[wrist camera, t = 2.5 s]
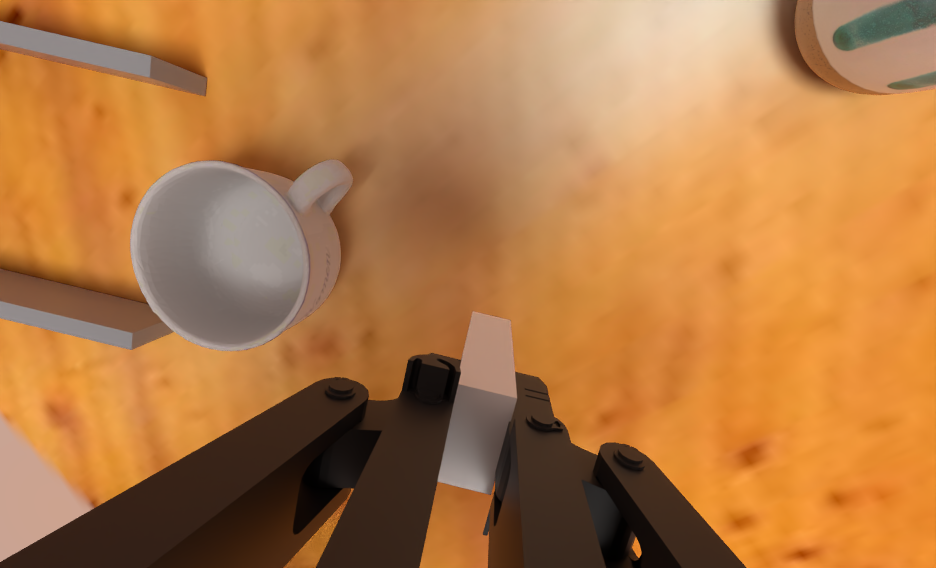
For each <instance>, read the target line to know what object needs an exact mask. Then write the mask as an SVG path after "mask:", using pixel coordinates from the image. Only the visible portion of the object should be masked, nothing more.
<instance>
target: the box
mask: <svg viewBox="0 0 936 568" xmlns="http://www.w3.org/2000/svg"><path fill="white" fill-rule="evenodd" d="M0 49H3V50H7V51H11V52H16V53H20V54H24V55H29V56H33V57H37V58H42V59H46V60H50V61H55V62H59V63H63V64H68V65H72V66H76V67H81V68H85V69H89V70H94V71H98V72H102V73H107V74H111V75H115V76H120V77H124V78H128V79H133V80H137V81H141V82H146V83H150V84H154V85H159V86H163V87H167V88H172V89H176V90H180V91H185V92H189V93H193V94H198V95H202V96H205V94H206V84H207V78H206V77H203V76H201V75H198V74H196V73H193V72H191V71H188V70H186V69H183V68H181V67H178V66H176V65H173V64H171V63H168V62H166V61H163V60H161V59H158V58H156V57H153V56H150V55H146V54H141V53H137V52H133V51H128V50H124V49H120V48H115V47H111V46H107V45H102V44H98V43H94V42H89V41H85V40H80V39H76V38H72V37H67V36H63V35H59V34H54V33H50V32H46V31H41V30H37V29H33V28H28V27H24V26H19V25H15V24H11V23H6V22H2V21H0ZM0 318H2V319H6V320H10V321H14V322H18V323H23V324H27V325H31V326H35V327H39V328H43V329H47V330H51V331H56V332H60V333H64V334H68V335H72V336H76V337H80V338H84V339H89V340H93V341H97V342H101V343H105V344H109V345H113V346H118V347H122V348H126V349H130V350H132V349H135V348H137V347H139V346H142V345H144V344H146V343H149V342H151V341H153V340H156V339H158V338H161V337H163V336H165V335H168V334H170V333H172V332H174V331H172V330H171V329H170V328H169V327H168V326H167V325H166V324H165V323H164V322H163V321H162V320H161V319H160V318H159V317H158V315H157V314H156V313H154V312H153V311H152V309H151V307H150V306H149V304H145V303H141V302H137V301H133V300H129V299H125V298H120V297H116V296H112V295H108V294H104V293H100V292H95V291H91V290H87V289H83V288H79V287H75V286H70V285H66V284H62V283H58V282H54V281H50V280H45V279H41V278H37V277H33V276H29V275H25V274H20V273H16V272H12V271H8V270H4V269H0Z"/></svg>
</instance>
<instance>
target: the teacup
mask: <svg viewBox="0 0 936 568" xmlns="http://www.w3.org/2000/svg"><path fill="white" fill-rule="evenodd" d="M352 183H353V177H352V174H351V172H350V171H349V169H348V168H347V167H346V166H345V165H344V164H343V163H342V162H340V161H338V160H335V159H332V160H326V161H323V162H320V163H318V164H316V165H314V166H313V167H311V168H309V169H308V170H306V171H305V172H304V173H303V174H302V175H300V176H299V177H298V178H297V179H296V180H295V181H292V180H290V179H287V178H285V177H282V176H279V175H276V174H273V173H269V172H265V171H260V170H255V169H250V168H244V167H241V166H239V165H236V164H232V163H228V162H223V161H198V162H192V163H189V164H186V165H183V166H180V167H178V168H175V169H173V170H171V171H169V172H168V173H166V174H165V175H163V176H162V177H161V178H159V179H158V180H157V181H156V182H155V183H154V184H153V185H152V186H151V187H150V188H149V190H148V191H147V192H146V194H145V195H144V197H143V199H142V200H141V202H140V204H139V206H138V209H137V211H136V214H135V217H134V220H133V225H132V229H131V239H130V248H131V259H132V264H133V268H134V273H135V275H136V278H137V281H138V283H139V286H140V289H141V291H142V293H143V295H144V296H145V298H146V300H147V302H148V304H149V306H150V307H151V309H152V311H153V312H154V313H156V314H157V315H158V317H159V318H160V319H161V320H162V321H163V322H164V323H165V324H166V325H167V326H168V327H169V328H170V329H171V330H172V331H174V332H176V333H177V334H179V335H180V336H182V337H183V338H184V339H186V340H188V341H190V342H192V343H194V344H197V345H200V346H202V347H206V348H209V349H215V350H220V351H240V350H247V349H251V348H254V347H257V346H260V345H263V344H265V343H267V342H269V341H271V340H273V339H274V338H276V337H277V336H278V335H280V334H281V333H282V332H283V331H285V330H287V329H289V328H290V327H292V326H294V325H296V324H297V323H299V322H301V321H302V320H303V319H305V318H306V317H308V316H309V315H311V314H312V313H313V312H314V311H316V310H317V309H318V308H319V307H320V306H321V305H322V304H323V302H324V301H325V300H326V299H327V297H328V296H329V294H330V293H331V291H332V289H333V287H334V285H335V283H336V280H337V277H338V274H339V269H340V262H341V247H340V240H339V236H338V233H337V229H336V227H335V225H334V222H333V220H332V218H331V216H330V213H331V212H332V211H333V209H334V207H335V206H336V205H337V203H338V202H339V201H340V200H341V199H342V198H343V197H344V196H345V194H346V193H347V192H348V190H349V189H350V188H351V186H352Z"/></svg>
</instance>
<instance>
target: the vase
mask: <svg viewBox="0 0 936 568" xmlns="http://www.w3.org/2000/svg"><path fill="white" fill-rule="evenodd" d="M794 25H795V36H796V40H797V44H798V48H799V50H800V52H801V54H802V57H803V59H804V60H805V62H806V63H807V64H808V66H809V67H810V68H811V69H812V70H813V71H814V72H815V73H816V74H817V75H818V76H819V77H820V78H822V79H823V80H825V81H826V82H828V83H829V84H831V85H833V86H836V87H838V88H840V89H843V90H847V91H851V92H855V93H859V94H871V95H888V94H900V93H910V92H917V91H924V90H930V89H936V0H798V1H797V5H796V10H795V22H794Z"/></svg>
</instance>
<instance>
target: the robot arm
mask: <svg viewBox="0 0 936 568" xmlns="http://www.w3.org/2000/svg"><path fill="white" fill-rule="evenodd" d="M368 397H369V394H368V390H367V389H366V388H365V387H364V385H362V384H360V383H358V382H356V381H353V380H349V379H348V378H341V377H335V378H329V379H323V380H320V381H318V382H315V383H314V384H312V385H310V386H308V387H307V388H305V389H303V390H301V391H300V392H298V393H296V394H294V395H293V396H291V397H289V398H287V399H286V400H284V401H282V402H280V403H278V404H277V405H275V406H273V407H271V408H270V409H268V410H266V411H264V412H263V413H261V414H259V415H257V416H256V417H254V418H252V419H250V420H249V421H247V422H245V423H243V424H242V425H240V426H238V427H236V428H235V429H233V430H231V431H229V432H228V433H226V434H224V435H222V436H221V437H219V438H217V439H215V440H214V441H212V442H210V443H208V444H207V445H205V446H203V447H201V448H200V449H198V450H196V451H194V452H193V453H191V454H189V455H187V456H186V457H184V458H182V459H180V460H178V461H177V462H175V463H173V464H171V465H170V466H168V467H166V468H164V469H163V470H161V471H159V472H157V473H156V474H154V475H152V476H150V477H149V478H147V479H145V480H143V481H142V482H140V483H138V484H136V485H135V486H133V487H131V488H129V489H128V490H126V491H124V492H122V493H121V494H119V495H117V496H115V497H114V498H112V499H110V500H108V501H107V502H105V503H103V504H101V505H100V506H98V507H96V508H94V509H93V510H91V511H89V512H87V513H86V514H84V515H82V516H80V517H78V518H77V519H75V520H73V521H71V522H70V523H68V524H66V525H65V526H63V527H61V528H59V529H57V530H56V531H54V532H52V533H50V534H49V535H47V536H45V537H44V538H42V539H40V540H38V541H37V542H35V543H33V544H31V545H29V546H28V547H26V548H24V549H22V550H21V551H19V552H17V553H15V554H14V555H12V556H10V557H8V558H7V559H5V560H3V561H2V562H0V568H283V567H284V566H285V565H286V564H287V563H288V562H289V561H290V560H291V559H292V558H293V556H294V555H295V554H296V553H297V552H298V551H299V550H300V549H301V548H302V547H303V546H304V545H305V543H306V542H307V541H308V540H309V539H310V538H311V537H312V536H313V535H314V534H315V533H316V531H317V530H318V529H319V528H320V527H321V526H322V525H323V524H324V523H325V522H326V521H327V520H328V518H329V517H330V516H331V515H332V514H333V513H334V512H335V511H336V510H337V509H338V508H339V507H340V505H341V504H342V503H343V502H344V501H345V500H346V499H347V497H348V495H349V494H350V491H351V488H354V490H353V492H352V494H351V496H350V498H349V500H348V502H347V504H346V507H345V509H344V511H343V513H342V515H341V517H340V519H339V521H338V523H337V525H336V527H335V529H334V531H333V533H332V535H331V537H330V540H329V542H328V544H327V546H326V548H325V550H324V552H323V554H322V556H321V558H320V560H319V562H318V564H317V566H316V568H419V566H420V562H421V557H422V552H423V547H424V543H425V538H426V533H427V528H428V524H429V519H430V514H431V509H432V505H433V500H434V495H435V490H436V486H437V482H441V483H445V484H449V485H453V486H457V487H461V488H465V489H469V490H473V491H477V492H481V493H485V494H489V495H491V492H492V489H493V485H494V481H495V492H494V495H493V499H492V503H491V506H490V510H489V513H488V517H487V521H486V524H485V528H484V532H483V535H488V532H489V551H488V568H746V567H745V565H744V564H743V563H742V562H741V561H740V560H739V559H738V558H737V556H736V555H735V554H734V553H733V552H732V551H731V550H730V548H729V547H728V546H727V545H726V544H725V543H724V542H723V540H722V539H721V538H720V537H719V536H718V535H717V534H716V533H715V531H714V530H713V529H712V528H711V527H710V526H709V525H708V523H707V522H706V521H705V520H704V519H703V518H702V517H701V515H700V514H699V513H698V512H697V511H696V510H695V509H694V508H693V506H692V505H691V504H690V503H689V502H688V501H687V500H686V498H685V497H684V496H683V495H682V494H681V493H680V492H679V490H678V489H677V488H676V487H675V486H674V485H673V484H672V483H671V481H670V480H669V479H668V478H667V477H666V476H665V475H664V473H663V472H662V471H661V470H660V469H659V468H658V467H657V465H656V464H655V463H654V462H653V461H652V460H651V459H649V458H648V457H647V456H646V455H644V454H643V453H641V452H639V451H638V450H637V449H636V448H634V447H630V446H629V445H626V444H619V443H605V444H603V445H601V447H600V450H599V453H598V455H596V454H593V453H591V452H589V451H586V450H584V449H582V448H580V447H578V446H576V445H574V444H572V443H571V441H570V437H569V434H568V430H567V429H566V427H565V425H564V424H563V423H562V422H561V421H559V420H558V419H557V418H555V417H554V415H553V411H552V407H551V403H550V398H549V396H548V390H547V386H546V385H545V384H544V383H543V382H542V381H541V380H540V379H539V378H538V377H534V376H530V375H526V374H522V373H518V372H515V366H514V354H513V343H512V331H511V320H508V319H503V318H499V317H495V316H491V315H487V314H482V313H478V312H474V311H473V312H472V316H471V321H470V325H469V329H468V333H467V338H466V342H465V346H464V350H463V354H462V359H461V360H458V359H454V358H450V357H446V356H442V355H438V354H434V353H430V354H428V355H416V356H412V357H411V358H410V359H409V360H408V364H407V368H406V373H405V378H404V383H403V387H402V391H401V393H400V395H399V397H398V398H397V399H394V400H387V401H375V400H368ZM635 537H637V539H638V542H639V544H640V547H641V551H642V554H641V556H640V558H638V557H637V556H636V554H635V552H634V551H633V549H632V546H633V543H634V540H635Z"/></svg>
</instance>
